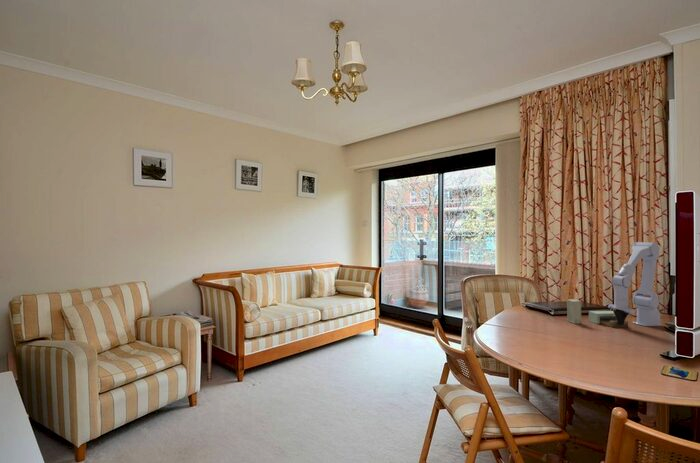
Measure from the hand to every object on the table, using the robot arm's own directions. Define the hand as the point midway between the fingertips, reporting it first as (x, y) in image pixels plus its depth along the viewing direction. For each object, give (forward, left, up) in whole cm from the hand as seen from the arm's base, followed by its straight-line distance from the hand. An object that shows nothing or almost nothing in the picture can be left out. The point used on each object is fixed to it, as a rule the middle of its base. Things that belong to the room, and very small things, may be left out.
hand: (621, 324), depth 185 cm
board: (0, -7, -2) cm, 7 cm away
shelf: (0, -11, -1) cm, 11 cm away
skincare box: (+17, -12, -2) cm, 21 cm away
